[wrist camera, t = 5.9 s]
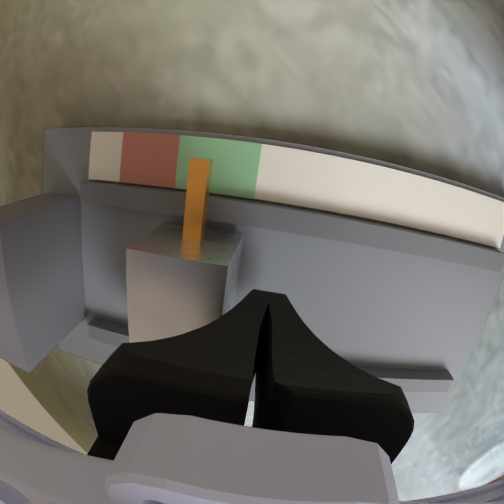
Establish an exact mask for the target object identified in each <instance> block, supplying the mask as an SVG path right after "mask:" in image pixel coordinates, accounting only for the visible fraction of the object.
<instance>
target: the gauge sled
mask: <svg viewBox="0 0 504 504" xmlns="http://www.w3.org/2000/svg"><path fill="white" fill-rule="evenodd" d="M212 165H213V159H206V158H197V157H194V158H190V162H189V172H188V181H187V191H186V202H185V213H184V224H183V223H177V222H170V221H167V222H165V223H164V224H162V225H160V226H159V227H157V228H156V229H154V230H153V231H151V232H150V233H148V234H147V235H145V236H144V237H142V238H141V239H139V240H138V241H136V242H135V243H133V244H132V245H131V246H129V247H128V248H126V287H127V312H128V329H129V343H132V342H144V341H153V340H159V339H164V338H169V337H173V336H177V335H181V334H184V333H187V332H189V331H192V330H195V329H198V328H200V327H203V326H205V325H207V324H209V323H211V322H213V321H215V320H216V319H218V318H219V317H221V316H222V315H224V314H225V313H226V312H228V311H229V310H231V309H232V308H233V307H234V306H235V299H236V292H237V284H238V276H239V269H240V261H241V254H242V246H243V239H244V233H242V232H235V231H229V230H223V229H216V228H210V227H206V219H207V209H208V200H209V191H210V182H211V173H212Z"/></svg>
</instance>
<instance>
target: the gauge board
mask: <svg viewBox="0 0 504 504" xmlns="http://www.w3.org/2000/svg"><path fill="white" fill-rule="evenodd" d="M194 157H197V158H206V159H213V165H212V173H211V182H210V191H209V200H208V209H207V219H206V227H210V228H216V229H223V230H229V231H235V232H242V233H244V239H243V246H242V254H241V261H240V269H239V276H238V284H237V292H236V299H235V305H237V304H238V303H239V302H240V301H241V300H242V299H243V298H244V297H245V296H246V295H247V294H248V293H249V292H250V291H251V290H253V289H257V290H263V291H269V292H275V293H282V294H286V296H287V297H288V299H289V301H290V302H291V304H292V306H293V307H294V309H295V310H296V312H297V313H298V315H299V316H300V318H301V319H302V320H303V322H304V323H305V324H306V325H307V327H308V328H309V329H310V330H311V331H312V332H313V333H314V334H315V335H316V336H317V337H318V338H319V339H320V340H321V341H322V342H323V343H324V344H325V345H326V346H327V347H329V348H330V349H331V350H332V351H334V352H335V353H336V354H338V355H339V356H340V357H342V358H343V359H345V360H346V361H348V362H349V363H351V364H352V365H354V366H356V367H357V368H359V369H361V370H363V371H365V372H367V373H369V374H371V375H373V376H375V377H377V378H380V379H382V380H385V381H387V382H390V383H392V384H395V385H398V386H400V387H401V388H402V390H403V392H404V395H405V397H406V399H407V401H408V404H409V407H410V410H411V413H434V412H439V411H440V409H441V407H442V406H443V404H444V403H445V401H446V399H447V398H448V396H449V394H450V392H451V391H452V389H453V387H454V385H455V384H456V382H457V380H458V378H459V376H460V375H461V373H462V371H463V369H464V367H465V365H466V363H467V361H468V359H469V357H470V355H471V353H472V351H473V349H474V347H475V345H476V343H477V341H478V339H479V336H480V334H481V332H482V330H483V327H484V325H485V323H486V320H487V318H488V316H489V313H490V311H491V308H492V306H493V303H494V301H495V298H496V295H497V293H498V290H499V287H500V284H501V281H502V279H503V276H504V198H503V197H501V196H498V195H495V194H492V193H489V192H487V191H484V190H481V189H478V188H475V187H472V186H469V185H466V184H463V183H460V182H457V181H453V180H450V179H447V178H444V177H440V176H437V175H433V174H430V173H426V172H423V171H419V170H416V169H412V168H408V167H404V166H400V165H396V164H393V163H388V162H384V161H380V160H376V159H372V158H367V157H363V156H358V155H354V154H349V153H344V152H339V151H334V150H329V149H324V148H318V147H313V146H307V145H302V144H296V143H289V142H283V141H276V140H270V139H262V138H255V137H247V136H239V135H230V134H221V133H211V132H200V131H188V130H174V129H156V128H131V127H68V128H45V134H44V148H43V169H42V195H38V196H35V197H31V198H28V199H25V200H21V201H18V202H15V203H11V204H8V205H5V206H2V207H0V358H1V359H4V360H5V361H7V362H9V363H11V364H13V365H14V366H16V367H18V368H20V369H22V370H24V371H26V372H28V373H30V372H31V371H32V370H33V369H34V368H35V367H36V366H37V365H38V364H39V363H40V362H41V361H42V360H43V359H44V358H45V357H46V356H47V355H48V354H49V353H50V352H51V351H52V350H53V349H54V348H55V347H56V346H57V345H59V350H62V351H65V352H67V353H70V354H73V355H75V356H78V357H81V358H84V359H87V360H90V361H92V362H95V363H98V364H101V365H103V364H104V363H105V361H106V360H107V359H108V358H109V357H110V355H111V354H112V353H113V352H114V351H115V350H116V349H117V348H118V347H119V346H120V345H121V344H122V343H129V329H128V312H127V287H126V248H128V247H129V246H131V245H132V244H133V243H135V242H136V241H138V240H139V239H141V238H142V237H144V236H145V235H147V234H148V233H150V232H151V231H153V230H154V229H156V228H157V227H159V226H160V225H162V224H164V223H165V222H167V221H170V222H177V223H183V224H184V213H185V202H186V191H187V181H188V172H189V162H190V158H194ZM255 376H256V373H255ZM255 376H254V380H253V383H252V387H251V391H250V397H249V401H255Z"/></svg>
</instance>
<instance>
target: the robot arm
mask: <svg viewBox="0 0 504 504" xmlns="http://www.w3.org/2000/svg"><path fill="white" fill-rule="evenodd" d="M255 373H256V376H255ZM254 376H255V404H254V418H253V425H252V427H248V426H244V423H245V418H246V413H247V408H248V402H249V397H250V391H251V387H252V383H253V380H254ZM87 392H88V402H89V405H90V409H91V413H92V416H93V420H94V423H95V426H96V430H97V433H98V437H97V439H96V441H95V442H94V444H93V446H92V447H91V449H90V451H89V453H88V454H87V455H84V454H82V453H80V452H78V451H75V450H73V449H71V448H69V447H67V446H65V445H63V444H60V443H58V442H56V441H54V440H52V439H50V438H49V437H47V436H45V435H42V434H41V433H39V432H37V431H35V430H33V429H32V428H30V427H28V426H26V425H24V424H23V423H21V422H19V421H18V420H16V419H14V418H13V417H11V416H9V415H8V414H6V413H5V412H3V411H1V410H0V504H504V480H501V481H498V482H495V483H491V484H488V485H484V486H481V487H477V488H473V489H469V490H465V491H461V492H457V493H452V494H447V495H442V496H437V497H431V498H425V499H419V500H412V501H399V499H398V494H397V489H396V484H395V480H394V475H393V471H392V467H391V464H392V462H393V461H394V460H395V458H396V457H397V456H398V454H399V453H400V452H401V450H402V449H403V447H404V446H405V445H406V443H407V442H408V440H409V438H410V436H411V434H412V432H413V428H414V419H413V416H412V413H411V410H410V407H409V404H408V401H407V399H406V397H405V395H404V392H403V390H402V388H401V387H400V386H398V385H395V384H392V383H390V382H387V381H385V380H382V379H380V378H377V377H375V376H373V375H371V374H369V373H367V372H365V371H363V370H361V369H359V368H357V367H356V366H354V365H352V364H351V363H349V362H348V361H346V360H345V359H343V358H342V357H340V356H339V355H338V354H336V353H335V352H334V351H332V350H331V349H330V348H329V347H327V346H326V345H325V344H324V343H323V342H322V341H321V340H320V339H319V338H318V337H317V336H316V335H315V334H314V333H313V332H312V331H311V330H310V329H309V328H308V327H307V325H306V324H305V323H304V322H303V320H302V319H301V318H300V316H299V315H298V313H297V312H296V310H295V309H294V307H293V306H292V304H291V302H290V301H289V299H288V297H287V296H286V294H282V293H275V292H269V291H263V290H257V289H253V290H251V291H250V292H249V293H248V294H247V295H246V296H245V297H244V298H243V299H242V300H241V301H240V302H239V303H238V304H237V305H235V306H234V307H233V308H232V309H231V310H229V311H228V312H226V313H225V314H224V315H222V316H221V317H219V318H218V319H216V320H215V321H213V322H211V323H209V324H207V325H205V326H203V327H200V328H198V329H195V330H192V331H189V332H187V333H184V334H181V335H177V336H173V337H169V338H164V339H159V340H153V341H144V342H132V343H122V344H121V345H120V346H119V347H118V348H117V349H116V350H115V351H114V352H113V353H112V354H111V355H110V357H109V358H108V359H107V360H106V361H105V363H104V364H103V365H102V367H101V368H100V369H99V371H98V372H97V373H96V374H95V376H94V377H93V378H92V380H91V381H90V384H89V387H88V390H87Z"/></svg>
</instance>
